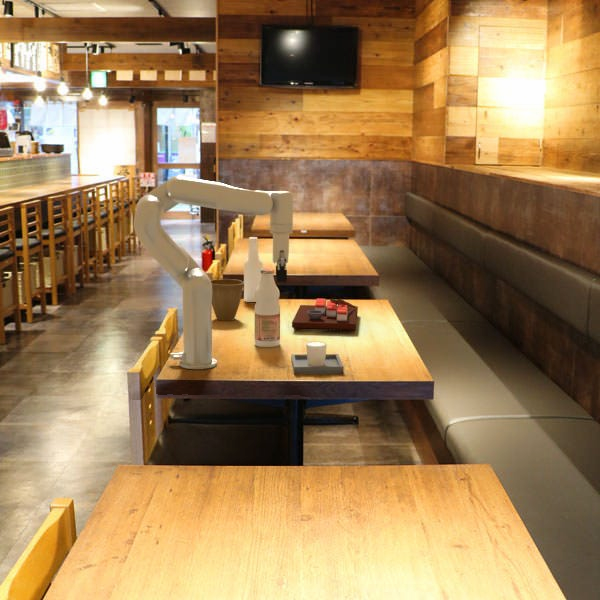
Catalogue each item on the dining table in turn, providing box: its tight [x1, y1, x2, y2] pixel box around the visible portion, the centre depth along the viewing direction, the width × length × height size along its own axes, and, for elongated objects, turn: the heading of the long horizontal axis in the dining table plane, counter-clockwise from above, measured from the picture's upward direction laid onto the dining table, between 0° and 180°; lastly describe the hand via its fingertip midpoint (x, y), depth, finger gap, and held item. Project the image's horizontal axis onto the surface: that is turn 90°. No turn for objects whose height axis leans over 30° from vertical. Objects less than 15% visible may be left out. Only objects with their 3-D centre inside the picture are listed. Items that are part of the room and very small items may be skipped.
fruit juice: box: [253, 268, 281, 348], centre depth 305 cm, size 9×9×28 cm
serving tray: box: [290, 353, 345, 376], centre depth 277 cm, size 16×16×2 cm
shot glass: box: [305, 341, 327, 366], centre depth 276 cm, size 7×7×7 cm
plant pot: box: [210, 278, 244, 322], centre depth 349 cm, size 15×15×16 cm
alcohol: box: [243, 236, 264, 303], centre depth 385 cm, size 9×9×30 cm
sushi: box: [291, 298, 359, 332], centre depth 342 cm, size 25×35×12 cm
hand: (281, 279), depth 280 cm, fingers open, 9 cm apart
